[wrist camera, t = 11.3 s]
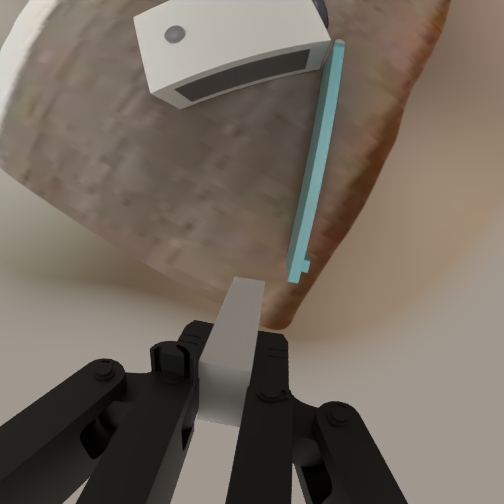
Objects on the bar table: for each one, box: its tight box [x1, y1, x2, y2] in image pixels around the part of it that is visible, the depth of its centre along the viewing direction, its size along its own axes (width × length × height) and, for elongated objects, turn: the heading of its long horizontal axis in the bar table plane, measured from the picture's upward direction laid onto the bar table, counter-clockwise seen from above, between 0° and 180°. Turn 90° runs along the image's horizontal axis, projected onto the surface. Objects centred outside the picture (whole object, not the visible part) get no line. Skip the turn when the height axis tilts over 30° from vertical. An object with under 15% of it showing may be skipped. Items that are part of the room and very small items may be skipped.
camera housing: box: [133, 0, 331, 110], centre depth 24 cm, size 20×11×10 cm, turn 107°
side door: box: [286, 39, 345, 283], centre depth 27 cm, size 24×2×8 cm, turn 170°
